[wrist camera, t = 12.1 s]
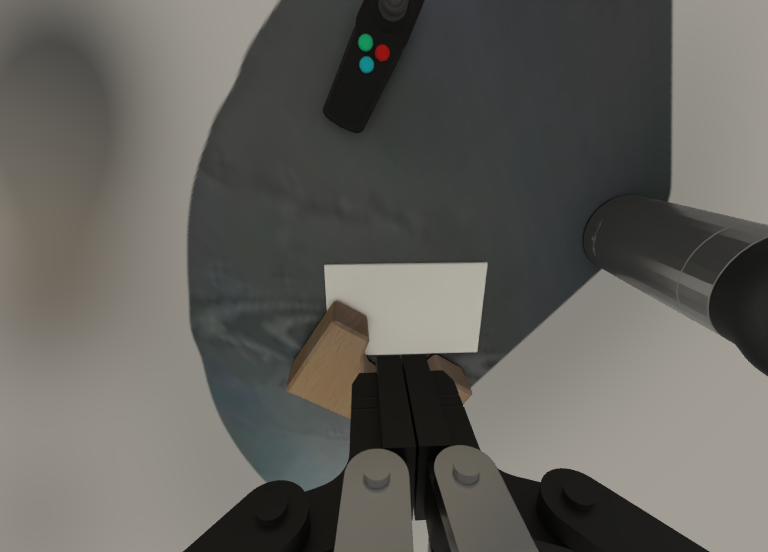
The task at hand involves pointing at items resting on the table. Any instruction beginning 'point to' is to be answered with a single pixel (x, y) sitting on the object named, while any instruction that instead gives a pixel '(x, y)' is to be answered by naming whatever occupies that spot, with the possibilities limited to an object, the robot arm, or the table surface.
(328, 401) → the decorative block
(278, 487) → the robot arm
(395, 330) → the mat
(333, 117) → the controller
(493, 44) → the table surface
